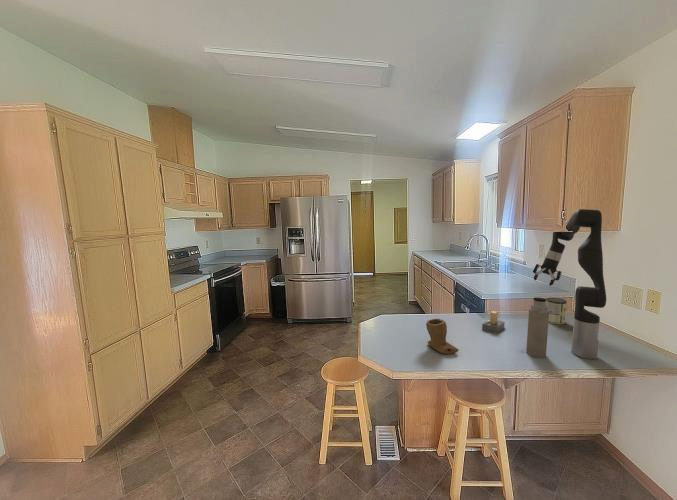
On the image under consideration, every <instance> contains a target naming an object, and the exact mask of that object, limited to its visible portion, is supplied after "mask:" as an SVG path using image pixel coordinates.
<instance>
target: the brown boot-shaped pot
mask: <svg viewBox="0 0 677 500" xmlns="http://www.w3.org/2000/svg"><path fill="white" fill-rule="evenodd" d="M425 326H426V330H427V333H428V335H429V337H430V340H428V341H427V344H428V345H429V346H430V347H431V348H433V349H434V350H436V351H437V352H439V353H441V354H445V355H452V354H456V353H459V349H458V348H457V347H455V346H454V345H453V344H451V343H449V342H448V341H447V333H448V329H447V328H448V327H447V323H446V320H444V319H440V318H431V319H429V320H427V321H426V323H425Z"/></svg>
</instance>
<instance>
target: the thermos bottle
mask: <svg viewBox="0 0 677 500" xmlns="http://www.w3.org/2000/svg"><path fill="white" fill-rule="evenodd" d="M547 309H548V306H547V305H546V298H544V297H533V302H532V303H531V304H530V307H529V309H528V321H527V336H526V350H525V353H526V354H527V355H529V356H530V357H533V358H537V359H538V358H539V359H544V358H546V357H547V350H548V349H547V345H548V335H549V334H548V333H549V332H548V331H549V322H548V321H549V311H548V310H547Z"/></svg>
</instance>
